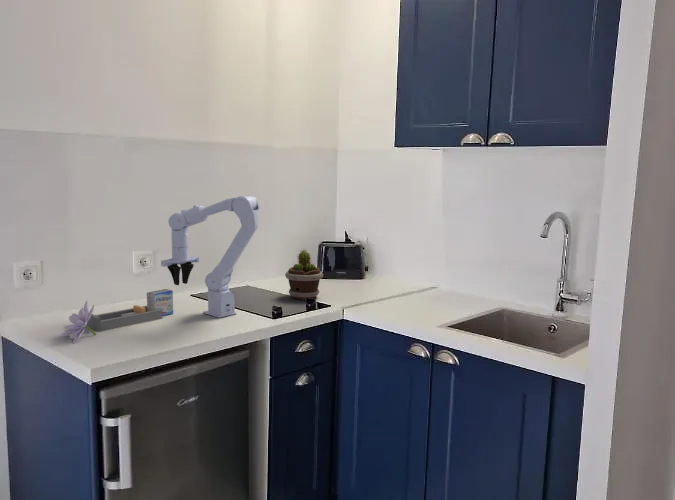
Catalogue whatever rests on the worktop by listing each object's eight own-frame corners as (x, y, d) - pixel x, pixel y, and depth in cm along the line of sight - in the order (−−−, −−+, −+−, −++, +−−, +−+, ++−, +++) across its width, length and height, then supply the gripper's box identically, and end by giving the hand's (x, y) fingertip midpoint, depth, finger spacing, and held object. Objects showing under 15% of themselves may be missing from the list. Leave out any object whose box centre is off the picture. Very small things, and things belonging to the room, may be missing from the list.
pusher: (145, 319, 202) (145, 308, 202) (125, 323, 197) (125, 311, 197) (136, 316, 206) (136, 305, 206) (117, 320, 201) (116, 308, 200)
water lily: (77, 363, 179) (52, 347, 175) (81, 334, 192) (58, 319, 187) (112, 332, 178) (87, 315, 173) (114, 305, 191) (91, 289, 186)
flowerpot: (322, 302, 234) (322, 251, 231) (283, 301, 234) (283, 250, 231) (323, 293, 248) (324, 246, 245) (286, 293, 248) (287, 245, 245)
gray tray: (162, 318, 205) (162, 305, 205) (97, 331, 189) (96, 318, 188) (148, 313, 211) (148, 301, 211) (84, 326, 194) (83, 312, 194)
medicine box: (154, 318, 205) (154, 293, 204) (147, 316, 208) (146, 291, 207) (173, 314, 212) (173, 290, 210) (165, 311, 214) (165, 288, 213)
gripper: (190, 243, 221) (191, 279, 223) (155, 247, 210) (156, 285, 212) (202, 245, 216) (202, 282, 218) (166, 249, 205) (167, 288, 207)
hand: (180, 284), depth 215 cm, fingers open, 3 cm apart
